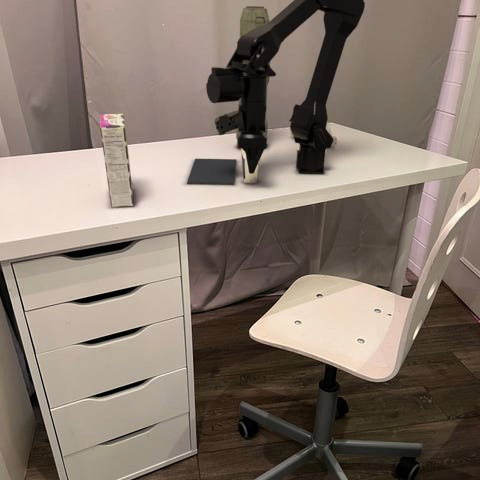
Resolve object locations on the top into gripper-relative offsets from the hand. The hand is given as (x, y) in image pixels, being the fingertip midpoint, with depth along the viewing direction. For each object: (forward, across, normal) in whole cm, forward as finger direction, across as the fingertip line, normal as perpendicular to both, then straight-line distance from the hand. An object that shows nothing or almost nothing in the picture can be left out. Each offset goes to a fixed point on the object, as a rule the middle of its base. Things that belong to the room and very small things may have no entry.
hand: (251, 170), depth 122 cm
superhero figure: (+2, -38, +19) cm, 43 cm away
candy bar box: (+3, +14, -28) cm, 31 cm away
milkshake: (+3, 0, 0) cm, 3 cm away
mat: (+2, -7, -9) cm, 12 cm away
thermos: (+2, -32, 0) cm, 32 cm away
